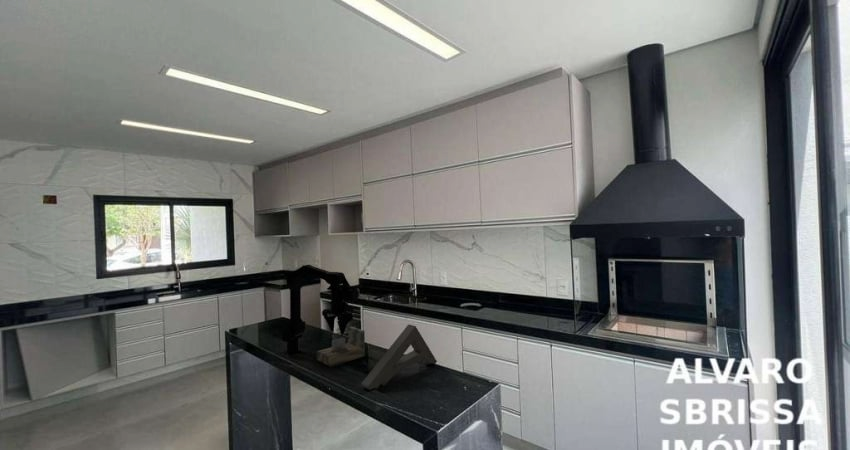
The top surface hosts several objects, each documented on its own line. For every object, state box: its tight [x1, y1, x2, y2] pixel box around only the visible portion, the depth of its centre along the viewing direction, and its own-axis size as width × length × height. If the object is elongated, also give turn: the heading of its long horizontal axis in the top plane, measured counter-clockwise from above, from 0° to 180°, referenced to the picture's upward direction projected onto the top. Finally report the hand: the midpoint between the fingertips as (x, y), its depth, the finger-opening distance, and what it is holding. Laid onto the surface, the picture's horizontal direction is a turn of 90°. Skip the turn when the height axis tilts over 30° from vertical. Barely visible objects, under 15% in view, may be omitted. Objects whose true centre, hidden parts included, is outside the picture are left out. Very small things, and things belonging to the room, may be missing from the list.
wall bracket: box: [360, 324, 438, 391], centre depth 140 cm, size 22×4×30 cm
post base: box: [316, 325, 366, 368], centre depth 161 cm, size 12×18×12 cm, turn 135°
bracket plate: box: [331, 337, 346, 353], centre depth 160 cm, size 2×6×8 cm, turn 135°
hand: (337, 332), depth 161 cm, fingers open, 9 cm apart
